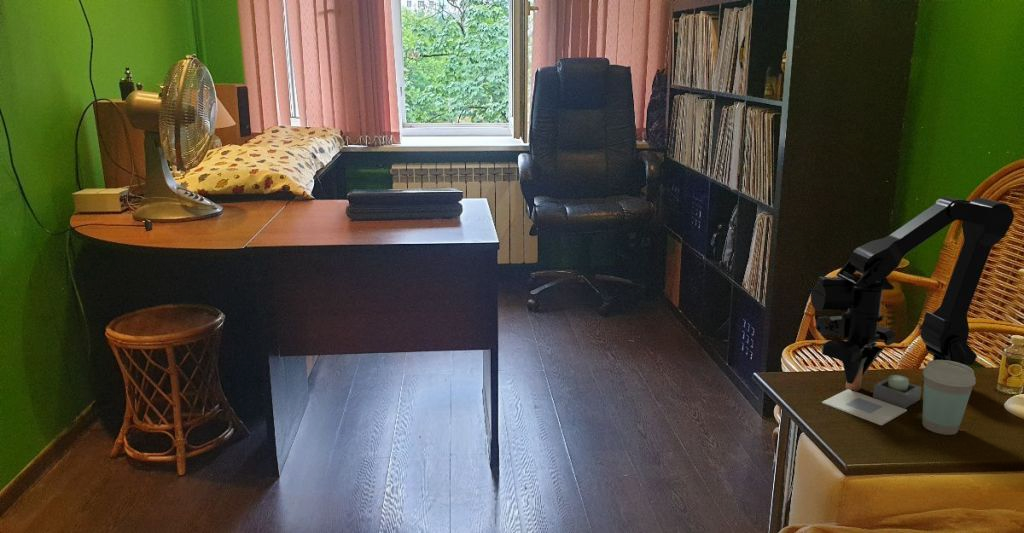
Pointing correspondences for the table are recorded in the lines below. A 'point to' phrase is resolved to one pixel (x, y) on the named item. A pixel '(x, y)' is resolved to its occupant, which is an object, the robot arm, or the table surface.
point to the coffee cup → (945, 395)
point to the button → (898, 383)
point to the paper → (864, 407)
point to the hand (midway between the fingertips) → (853, 381)
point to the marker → (855, 382)
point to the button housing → (896, 394)
